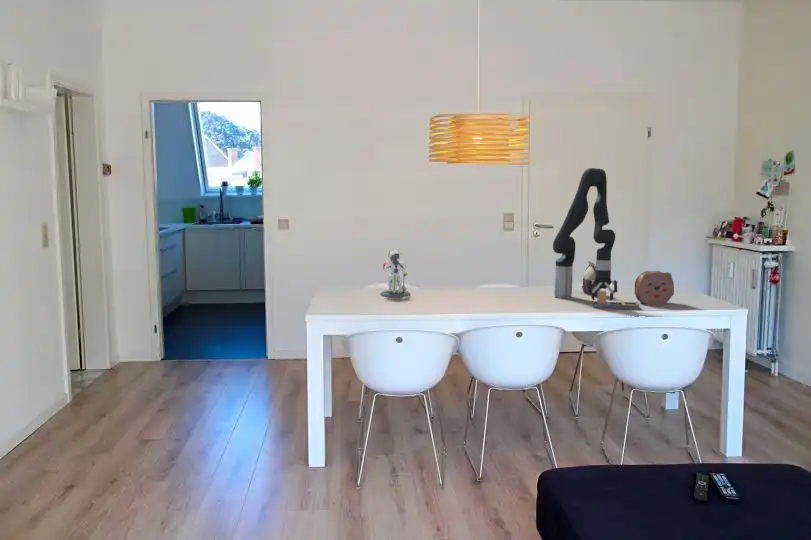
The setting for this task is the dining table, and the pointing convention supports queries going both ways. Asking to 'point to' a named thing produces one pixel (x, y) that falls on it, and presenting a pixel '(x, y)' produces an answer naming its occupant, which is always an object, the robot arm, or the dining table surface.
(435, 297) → the dining table surface
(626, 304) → the rail
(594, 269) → the pouch
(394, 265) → the figurine
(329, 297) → the dining table surface
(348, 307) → the dining table surface
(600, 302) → the block
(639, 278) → the face sculpture
